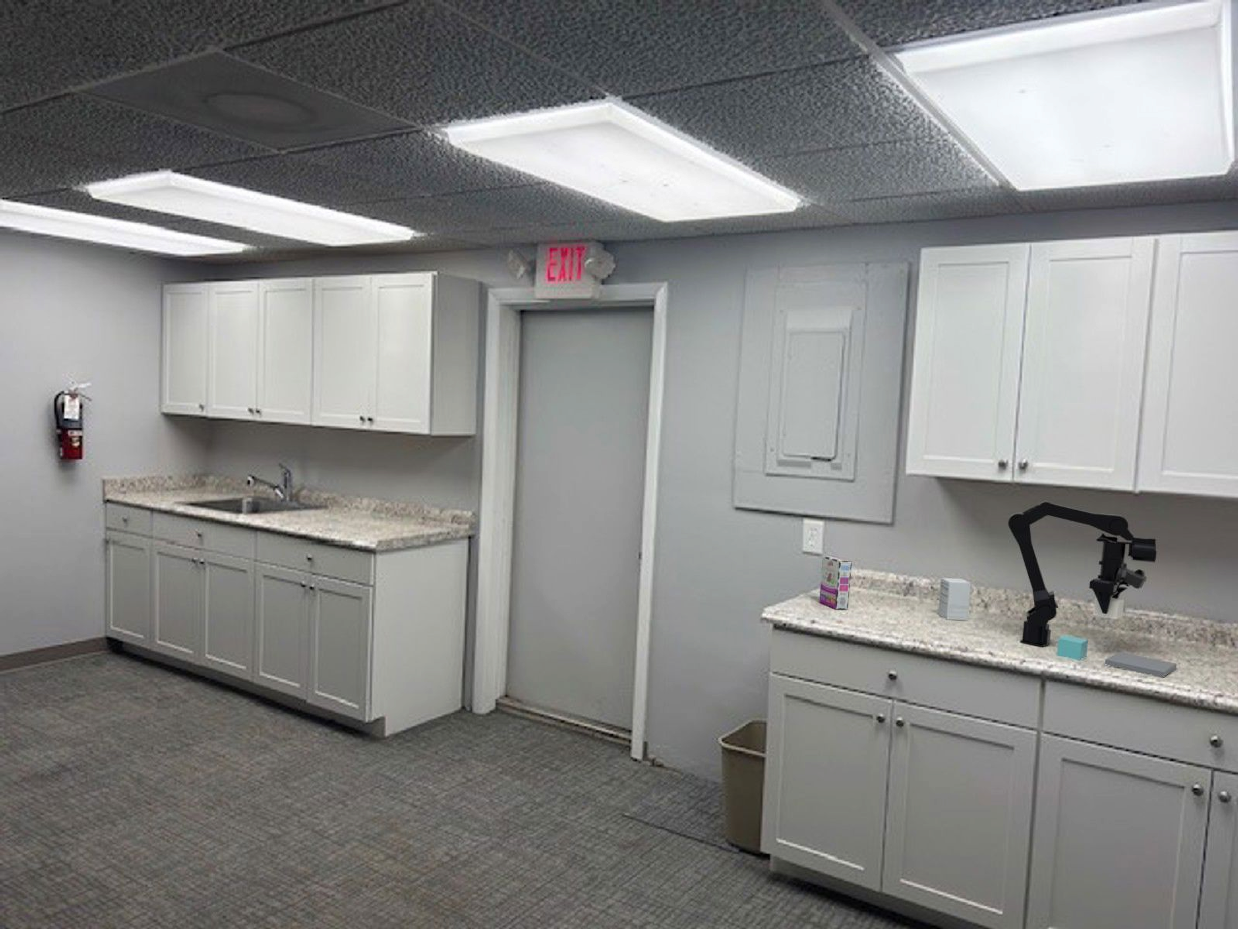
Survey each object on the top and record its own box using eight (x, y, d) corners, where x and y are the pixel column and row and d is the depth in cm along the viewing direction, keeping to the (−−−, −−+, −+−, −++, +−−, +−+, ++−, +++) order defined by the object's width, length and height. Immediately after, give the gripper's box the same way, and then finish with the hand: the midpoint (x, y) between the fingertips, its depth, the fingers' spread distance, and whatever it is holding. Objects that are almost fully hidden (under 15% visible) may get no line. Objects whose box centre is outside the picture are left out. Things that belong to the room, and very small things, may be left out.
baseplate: (1104, 665, 241) (1105, 659, 241) (1119, 657, 251) (1119, 651, 251) (1163, 677, 231) (1163, 672, 231) (1176, 669, 241) (1176, 663, 241)
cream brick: (1093, 615, 253) (1094, 598, 252) (1099, 612, 257) (1101, 595, 257) (1116, 619, 249) (1118, 601, 248) (1122, 616, 253) (1124, 599, 253)
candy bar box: (849, 610, 293) (852, 561, 292) (835, 610, 291) (839, 561, 290) (831, 602, 303) (834, 555, 302) (818, 602, 302) (822, 555, 301)
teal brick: (1056, 655, 248) (1058, 638, 248) (1063, 652, 253) (1065, 635, 252) (1079, 661, 244) (1081, 643, 244) (1086, 657, 248) (1088, 640, 248)
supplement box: (958, 616, 294) (962, 578, 293) (968, 621, 287) (971, 582, 286) (937, 614, 294) (940, 577, 293) (946, 620, 286) (949, 581, 286)
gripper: (1135, 565, 240) (1130, 622, 240) (1153, 560, 253) (1148, 613, 254) (1091, 559, 247) (1086, 614, 248) (1110, 554, 261) (1105, 606, 262)
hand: (1108, 612), depth 253 cm, fingers closed on cream brick, 6 cm apart
